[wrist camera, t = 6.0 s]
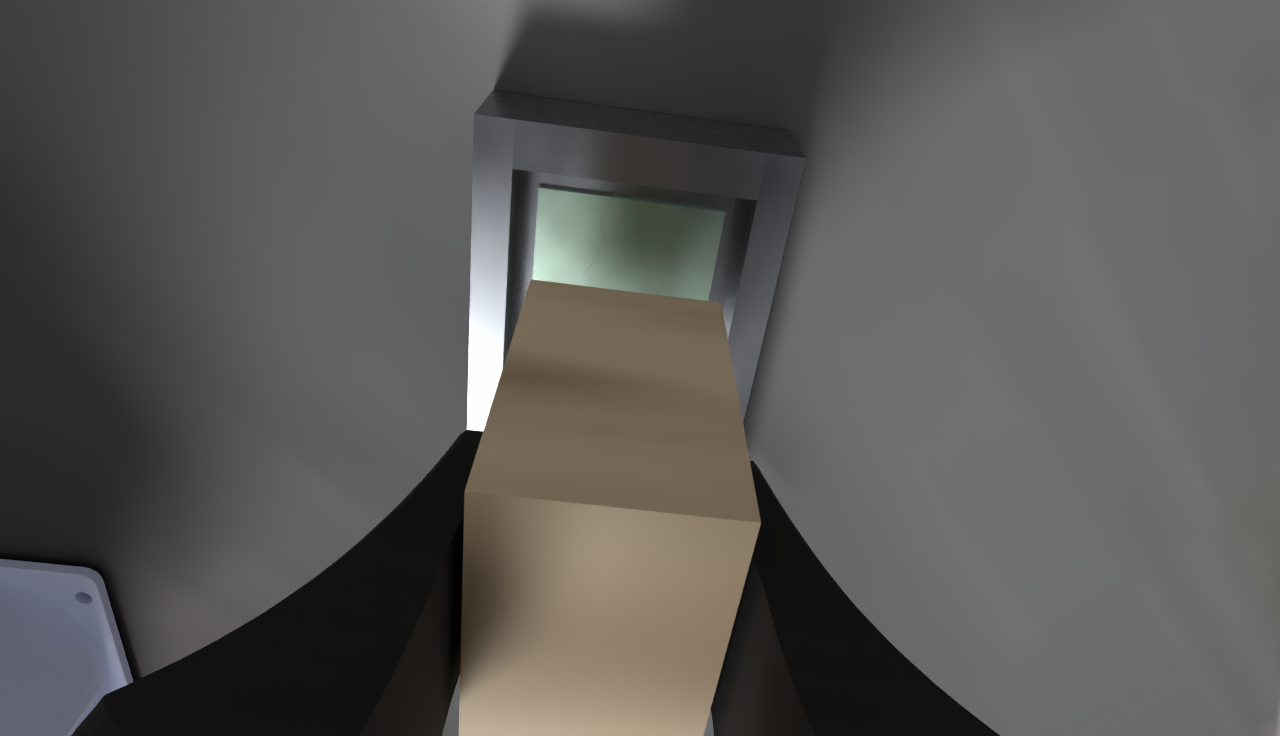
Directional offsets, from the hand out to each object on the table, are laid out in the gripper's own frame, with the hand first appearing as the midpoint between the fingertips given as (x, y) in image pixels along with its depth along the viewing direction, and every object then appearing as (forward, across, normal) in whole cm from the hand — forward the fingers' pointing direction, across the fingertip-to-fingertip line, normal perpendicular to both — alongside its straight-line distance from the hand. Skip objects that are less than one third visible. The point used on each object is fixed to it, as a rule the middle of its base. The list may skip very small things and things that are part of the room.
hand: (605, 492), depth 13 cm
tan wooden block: (+3, 0, 0) cm, 3 cm away
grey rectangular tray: (+8, 0, +4) cm, 9 cm away
